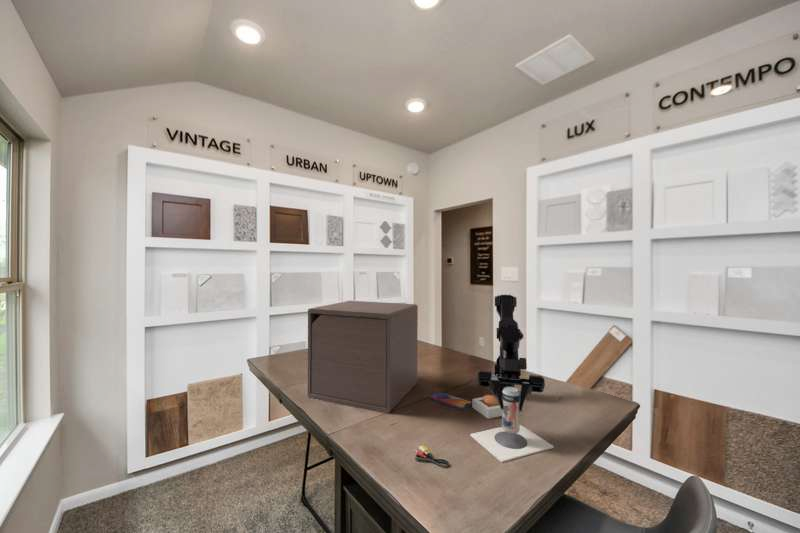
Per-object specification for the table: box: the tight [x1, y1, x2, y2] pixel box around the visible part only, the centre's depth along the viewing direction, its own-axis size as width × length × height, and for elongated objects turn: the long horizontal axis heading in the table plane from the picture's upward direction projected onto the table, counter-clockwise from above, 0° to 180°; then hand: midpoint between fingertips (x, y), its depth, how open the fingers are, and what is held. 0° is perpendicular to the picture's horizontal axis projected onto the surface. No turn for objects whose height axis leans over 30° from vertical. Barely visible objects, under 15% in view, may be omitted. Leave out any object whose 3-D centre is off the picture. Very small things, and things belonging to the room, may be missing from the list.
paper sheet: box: [469, 424, 555, 463], centre depth 92 cm, size 18×14×1 cm
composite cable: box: [413, 444, 450, 469], centre depth 82 cm, size 10×5×2 cm, turn 48°
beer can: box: [501, 386, 521, 434], centre depth 92 cm, size 5×5×12 cm
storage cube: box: [306, 300, 419, 414], centre depth 128 cm, size 34×29×34 cm
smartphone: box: [429, 391, 472, 411], centre depth 119 cm, size 7×15×1 cm, turn 47°
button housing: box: [471, 396, 502, 420], centre depth 111 cm, size 9×9×3 cm
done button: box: [482, 394, 498, 407], centre depth 111 cm, size 5×5×2 cm
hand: (511, 409), depth 91 cm, fingers closed on beer can, 5 cm apart
